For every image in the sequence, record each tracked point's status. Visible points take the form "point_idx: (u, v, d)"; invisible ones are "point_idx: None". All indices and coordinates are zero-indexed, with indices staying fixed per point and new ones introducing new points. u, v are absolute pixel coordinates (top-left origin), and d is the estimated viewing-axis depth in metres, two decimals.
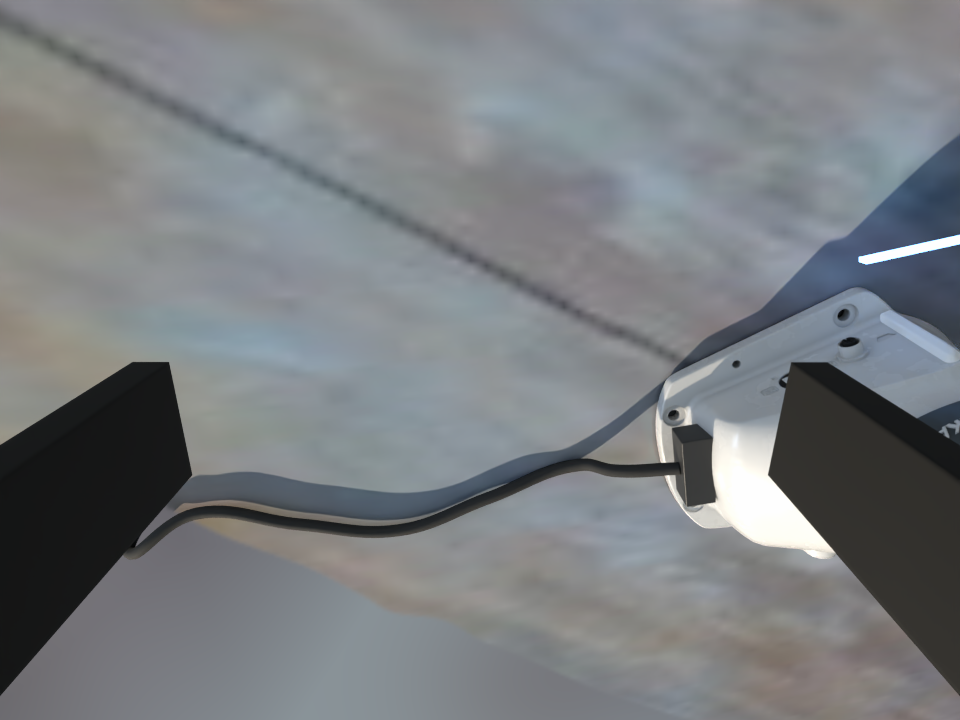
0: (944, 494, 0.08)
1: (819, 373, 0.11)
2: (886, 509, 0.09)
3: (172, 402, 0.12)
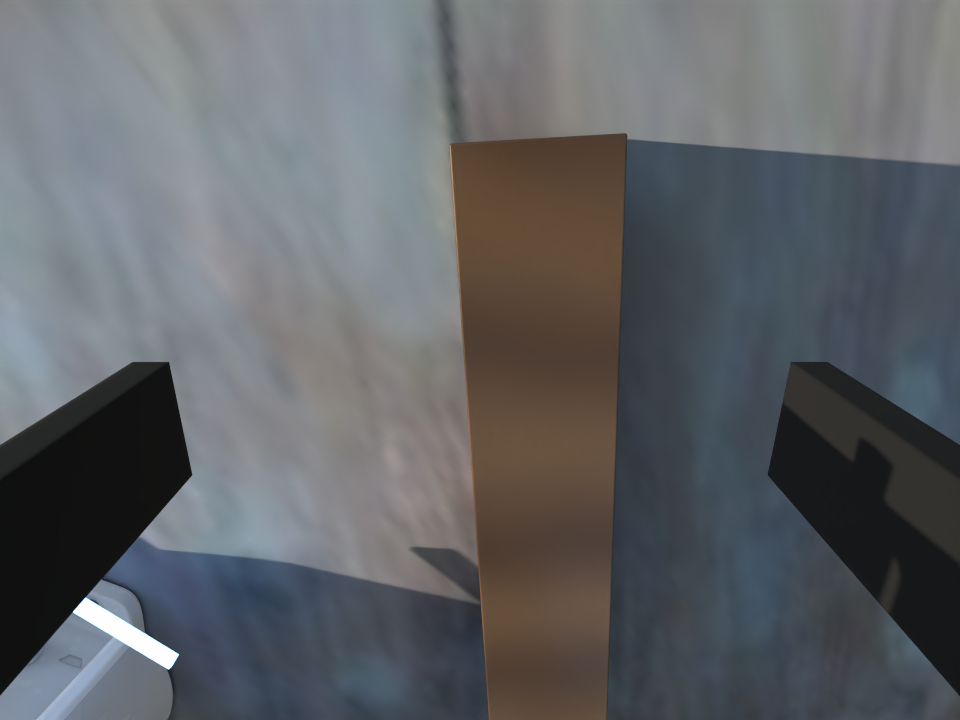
0: (944, 494, 0.08)
1: (819, 373, 0.11)
2: (886, 509, 0.09)
3: (172, 402, 0.12)
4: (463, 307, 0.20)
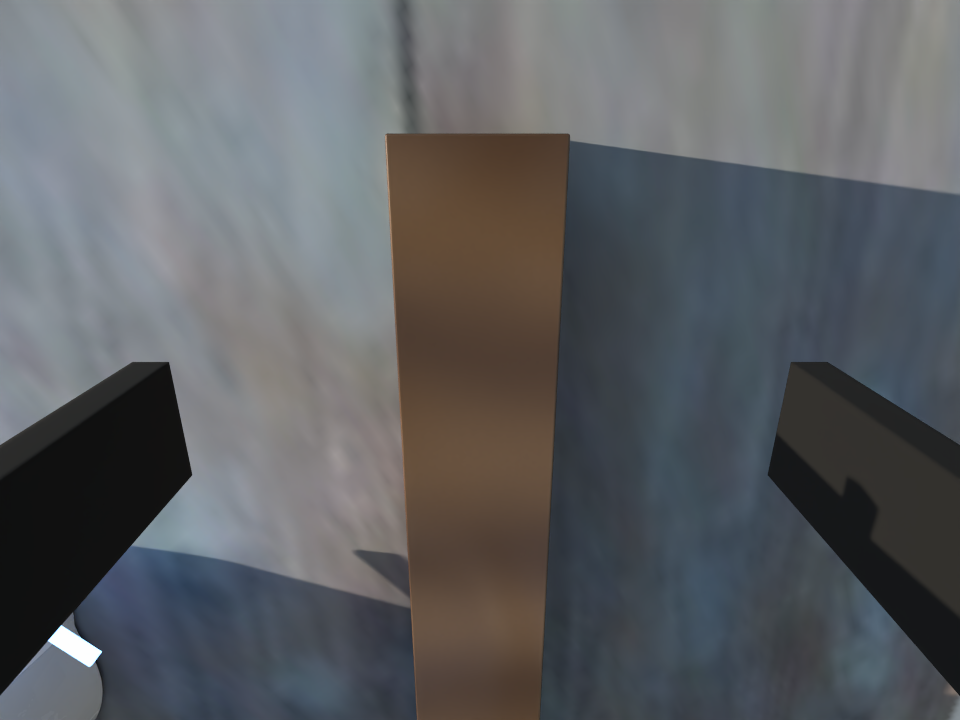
0: (944, 494, 0.08)
1: (819, 373, 0.11)
2: (886, 509, 0.09)
3: (173, 402, 0.12)
4: (397, 306, 0.19)
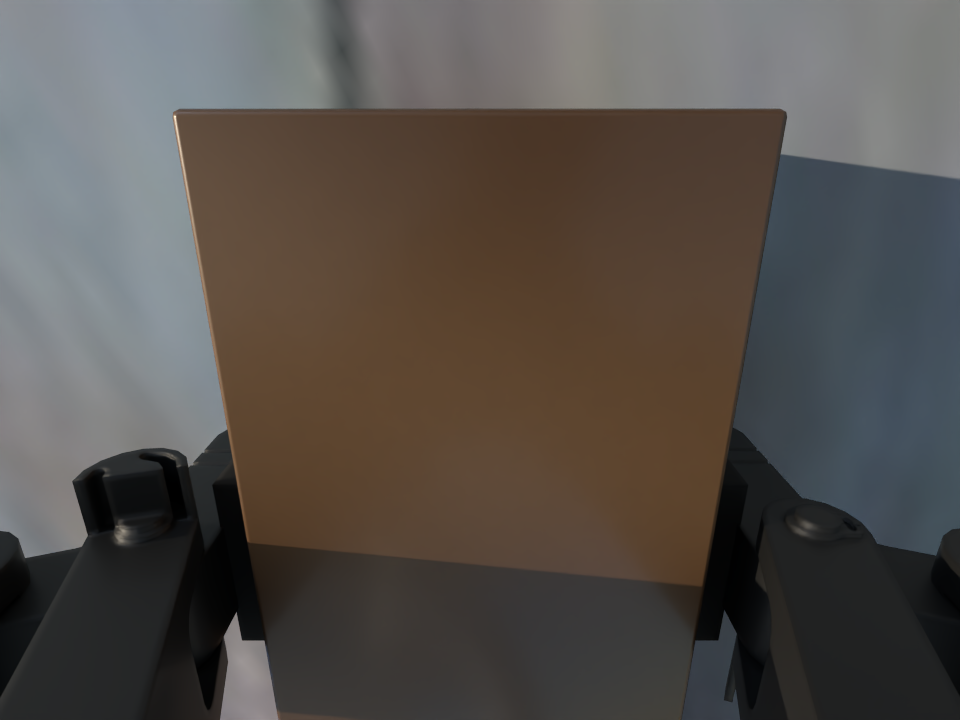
0: None
1: None
2: None
3: None
4: (262, 583, 0.07)
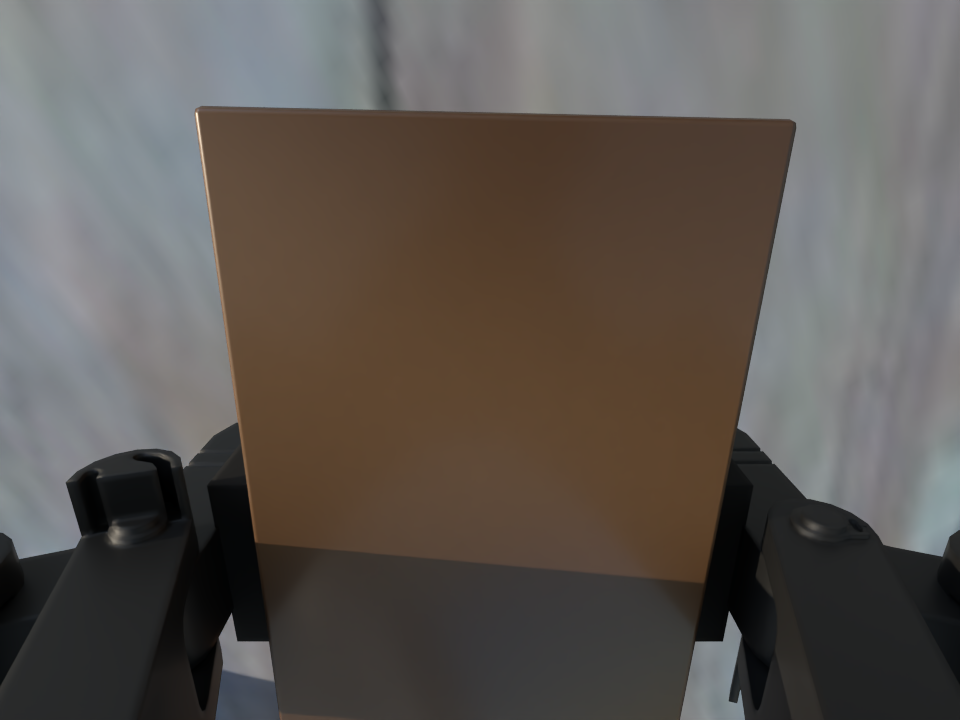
0: None
1: None
2: None
3: None
4: (267, 581, 0.07)
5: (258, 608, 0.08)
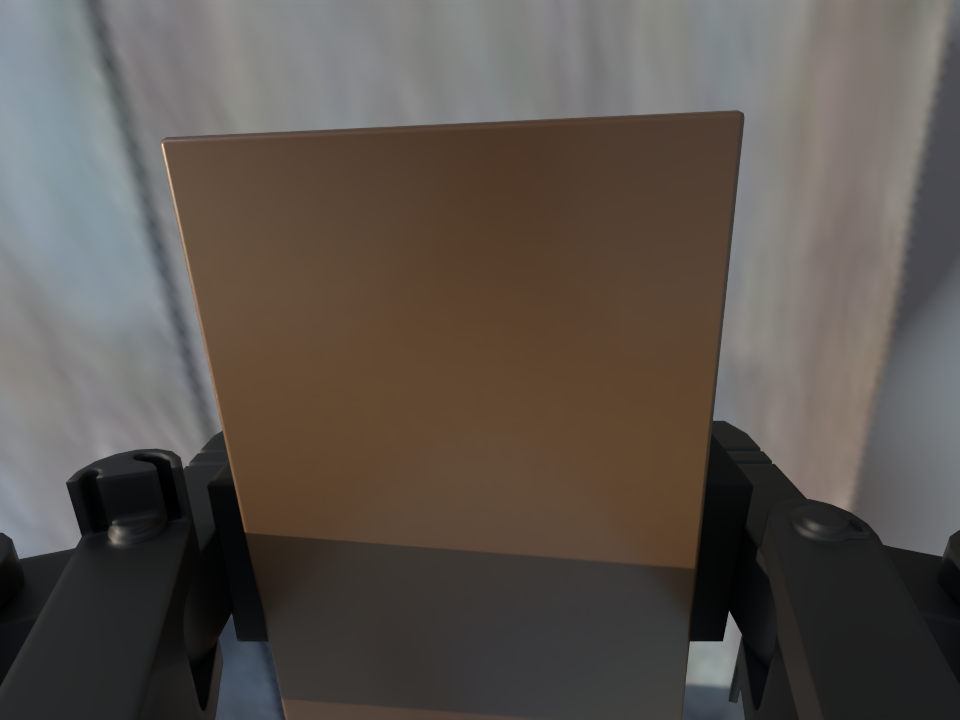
0: None
1: None
2: None
3: None
4: (264, 589, 0.07)
5: (258, 608, 0.08)
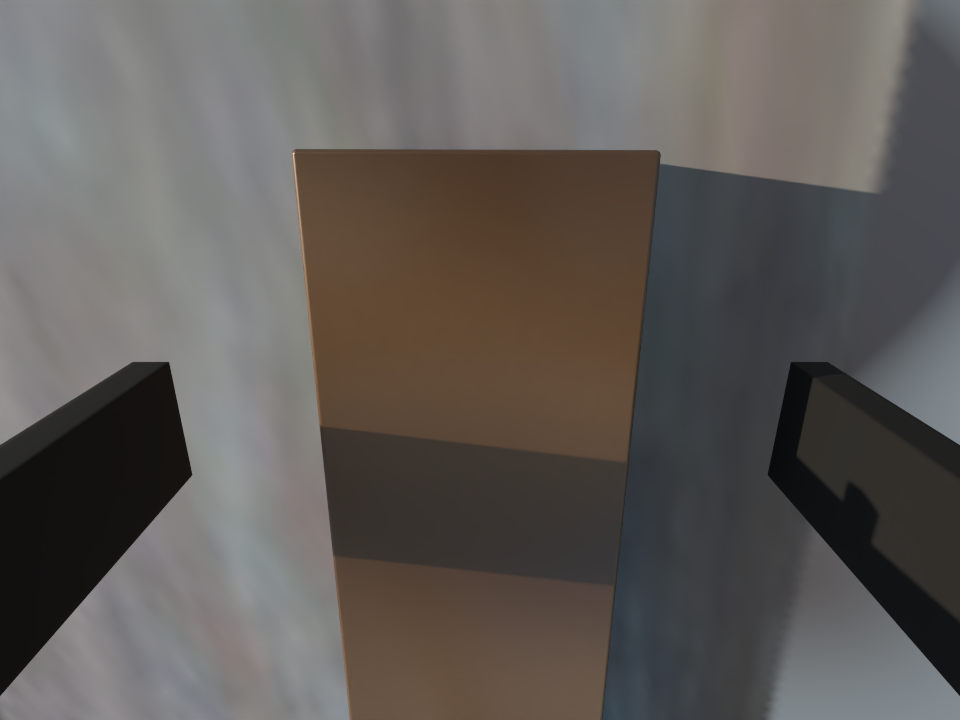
0: (943, 494, 0.08)
1: (819, 373, 0.11)
2: (885, 509, 0.09)
3: (173, 402, 0.12)
4: (329, 463, 0.10)
5: None
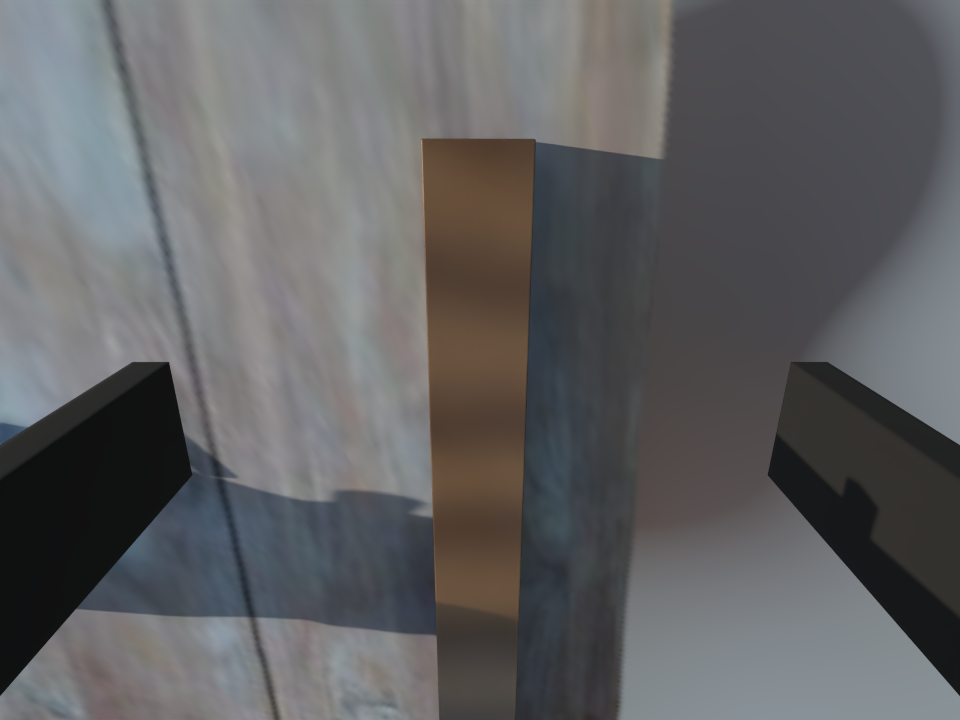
0: (944, 494, 0.08)
1: (819, 373, 0.11)
2: (886, 509, 0.09)
3: (173, 402, 0.12)
4: (426, 248, 0.30)
5: None
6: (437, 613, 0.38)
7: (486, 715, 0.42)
